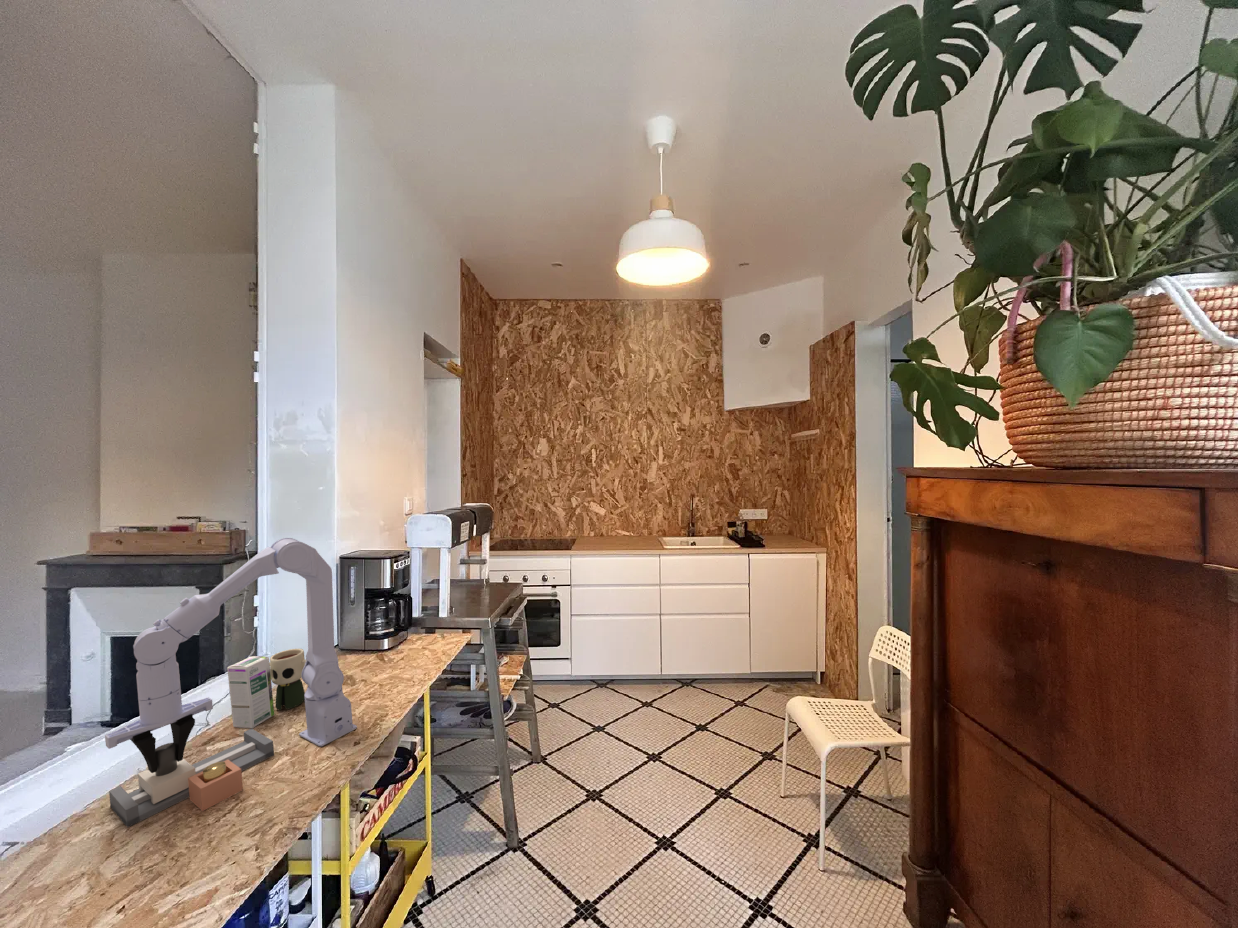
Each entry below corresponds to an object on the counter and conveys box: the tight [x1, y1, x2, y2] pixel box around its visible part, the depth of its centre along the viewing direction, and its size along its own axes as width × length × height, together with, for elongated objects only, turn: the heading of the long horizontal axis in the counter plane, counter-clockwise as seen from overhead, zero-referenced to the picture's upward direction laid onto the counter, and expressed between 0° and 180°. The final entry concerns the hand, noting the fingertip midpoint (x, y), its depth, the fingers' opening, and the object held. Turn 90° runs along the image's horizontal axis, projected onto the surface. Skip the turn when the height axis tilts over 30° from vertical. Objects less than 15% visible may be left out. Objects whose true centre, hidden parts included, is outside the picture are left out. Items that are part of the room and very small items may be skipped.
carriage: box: [137, 742, 196, 804], centre depth 91 cm, size 8×6×7 cm
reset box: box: [188, 760, 244, 812], centre depth 90 cm, size 6×6×4 cm
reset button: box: [203, 761, 226, 783], centre depth 90 cm, size 3×3×3 cm
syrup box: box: [226, 655, 275, 729], centre depth 115 cm, size 6×6×14 cm
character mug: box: [269, 648, 306, 711], centre depth 122 cm, size 11×7×13 cm, turn 94°
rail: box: [108, 728, 275, 828], centre depth 95 cm, size 10×22×3 cm, turn 148°
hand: (165, 764), depth 91 cm, fingers closed on carriage, 3 cm apart
